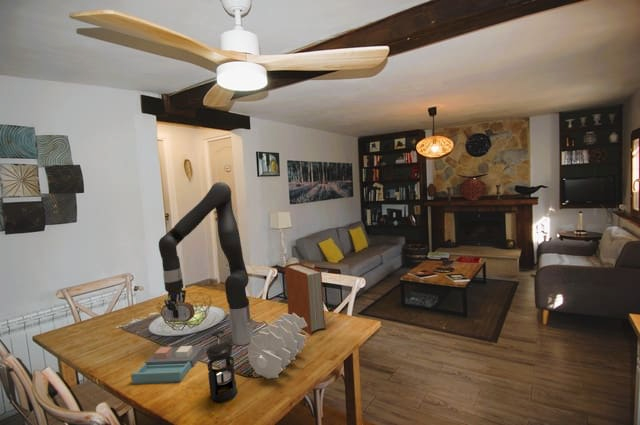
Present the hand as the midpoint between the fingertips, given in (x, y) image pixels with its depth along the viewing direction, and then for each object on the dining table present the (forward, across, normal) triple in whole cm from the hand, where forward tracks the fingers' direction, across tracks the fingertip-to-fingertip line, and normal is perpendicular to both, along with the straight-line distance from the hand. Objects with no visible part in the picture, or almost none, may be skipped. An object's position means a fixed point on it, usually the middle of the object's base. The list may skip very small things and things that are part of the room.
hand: (178, 316), depth 150 cm
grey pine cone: (+18, +10, +48) cm, 52 cm away
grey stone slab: (+17, +8, +1) cm, 18 cm away
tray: (+17, +19, +2) cm, 25 cm away
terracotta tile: (+14, +9, -3) cm, 17 cm away
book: (+18, -27, +52) cm, 61 cm away
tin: (+2, 0, 0) cm, 3 cm away
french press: (+17, +29, +33) cm, 47 cm away
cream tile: (+14, +8, +6) cm, 17 cm away
